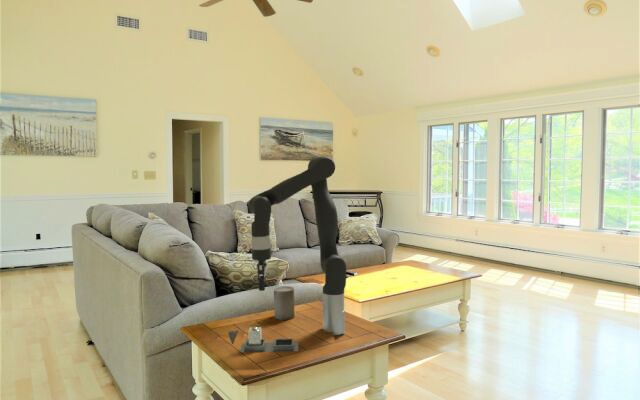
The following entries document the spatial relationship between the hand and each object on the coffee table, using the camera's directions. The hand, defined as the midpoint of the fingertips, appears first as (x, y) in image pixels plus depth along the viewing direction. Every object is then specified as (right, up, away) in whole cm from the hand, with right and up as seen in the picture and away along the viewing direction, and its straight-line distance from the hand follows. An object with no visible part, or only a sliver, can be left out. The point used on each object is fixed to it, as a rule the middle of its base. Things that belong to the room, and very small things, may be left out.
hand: (262, 287), depth 184 cm
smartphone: (-11, -23, +10) cm, 28 cm away
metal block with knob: (-2, -22, -5) cm, 23 cm away
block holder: (+3, -23, -5) cm, 24 cm away
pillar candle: (+6, -21, +37) cm, 43 cm away
